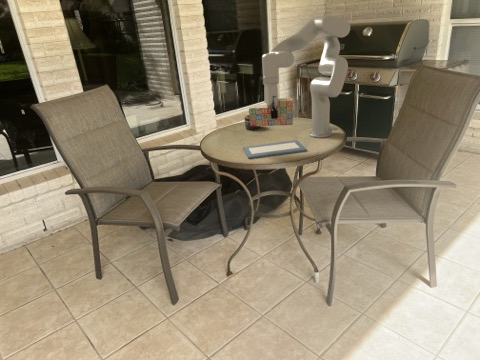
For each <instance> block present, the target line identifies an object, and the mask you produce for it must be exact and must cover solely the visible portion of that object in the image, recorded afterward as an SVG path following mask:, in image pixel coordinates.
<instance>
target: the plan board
mask: <svg viewBox="0 0 480 360" xmlns="http://www.w3.org/2000/svg"><path fill="white" fill-rule="evenodd" d="M242 150H243V152H244V153H245V155H246V157H247V159H248V160H251V159H252V160H253V159H256V158H257V159H258V158H265V156H267V157H272V155H274V156H280V154H281V155H288V153H289V154H294V153H301V152H307V150H308V148H307V147H305V146H304V145H303V144H302V143H301V142H300V141H299V140H297V139H294V140H293V139H292V140H288V141H287V140H285V141H278V142H271V143H270V142H269V143H265V144H256V145H249V146H242Z"/></svg>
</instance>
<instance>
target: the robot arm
mask: <svg viewBox="0 0 480 360" xmlns="http://www.w3.org/2000/svg"><path fill="white" fill-rule="evenodd" d="M350 31H351V23H350V22H349V20H348V19H345V18H343V17H338V16H333V15H327V14H325V15H315V16H312V17H310V18H309V19H308V20H307V21H306V22H305V23H304V24H303V25H302V26H301V27H300V28H299V29H298V30H297V31H296V32H295V33H294V34H291V35H290V36H288V37H286V38H285V39H283V40H281V41H280V42H279V43H277V44H276V45H275V46H274V47H273V48H272V49H271V50H270V52H268V53H264V54H262V56H261V65H262V85H264V88H263V89H264V92H263V93H264V97H263V98H264V100H263V102H264V103H265V105H269V106H270V105H271V110H272V111H271V119H276V118H278V109H277V104H278V98H279V89H278V85H279V83H280V80H279V75H280V74H279V69H283V68H284V69H286V68H289V67H291V66H292V65H293V64H294V62H295V55H294V54H293V52H296V51H297V52H298V51H301V50H303V49H306V48H307V47H308V46H309V45H310V44H311V43H312V42H313V41H314V40H315V39H316V38H317V37H319V35H320V36H321V38H322V41H323V49H322V53H321V57H320V61H319V64H318V69H317V70H318V73H319V74H321V75H322V76H318V77H315V78H313V79H312V80H311V81H310V84H309V91H310V95H311V130H310V131H309V134H308V135H309V136H310V137H312V138H319V139H320V138H329V137H331V136H332V135H333V131H338V130H339V128H338V126H334V125H332V126H331V125H330V110H331V108H330V107H331V106H330V105H331V103H330V99H329V98H337V97H338V96H339V95H340V94H341V92H342V90H343V87H344V85H345V84H344V83H345V79H346V77H347V73H348V69H349V63H348V60H347V59H346V58H344V57H342V56H339V55H340V51H341V44H340V41H339V39H338V38H345V37H346V36H348V35H349V33H350ZM324 76H330V77H324ZM272 103H274V104H272Z"/></svg>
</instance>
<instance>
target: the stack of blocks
mask: <svg viewBox="0 0 480 360" xmlns="http://www.w3.org/2000/svg"><path fill="white" fill-rule="evenodd" d="M293 101H294V100H293V98H292V97H289V98H287V97H278V104H277V109H278V118H276V119H271V111H272V110H271V105H270V106H269V105H267V104H257V105H255V104H253V105H250V106H249V108H248V111H249V114H248V115H250V126H261V127H268V126H269V127H270V126H273V127H275V126H293V125H294V124H293V123H294V121H293V120H294V116H293V115H294V111H293V110H294V109H293V108H294V106H293V104H294V103H293ZM272 104H274V103H272Z"/></svg>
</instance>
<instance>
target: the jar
mask: <svg viewBox="0 0 480 360" xmlns="http://www.w3.org/2000/svg"><path fill="white" fill-rule="evenodd" d="M244 127H245V129H246V130H247V131H257V130H259V129H261V127H262V126H250V114H247V115H245V116H244Z"/></svg>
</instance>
